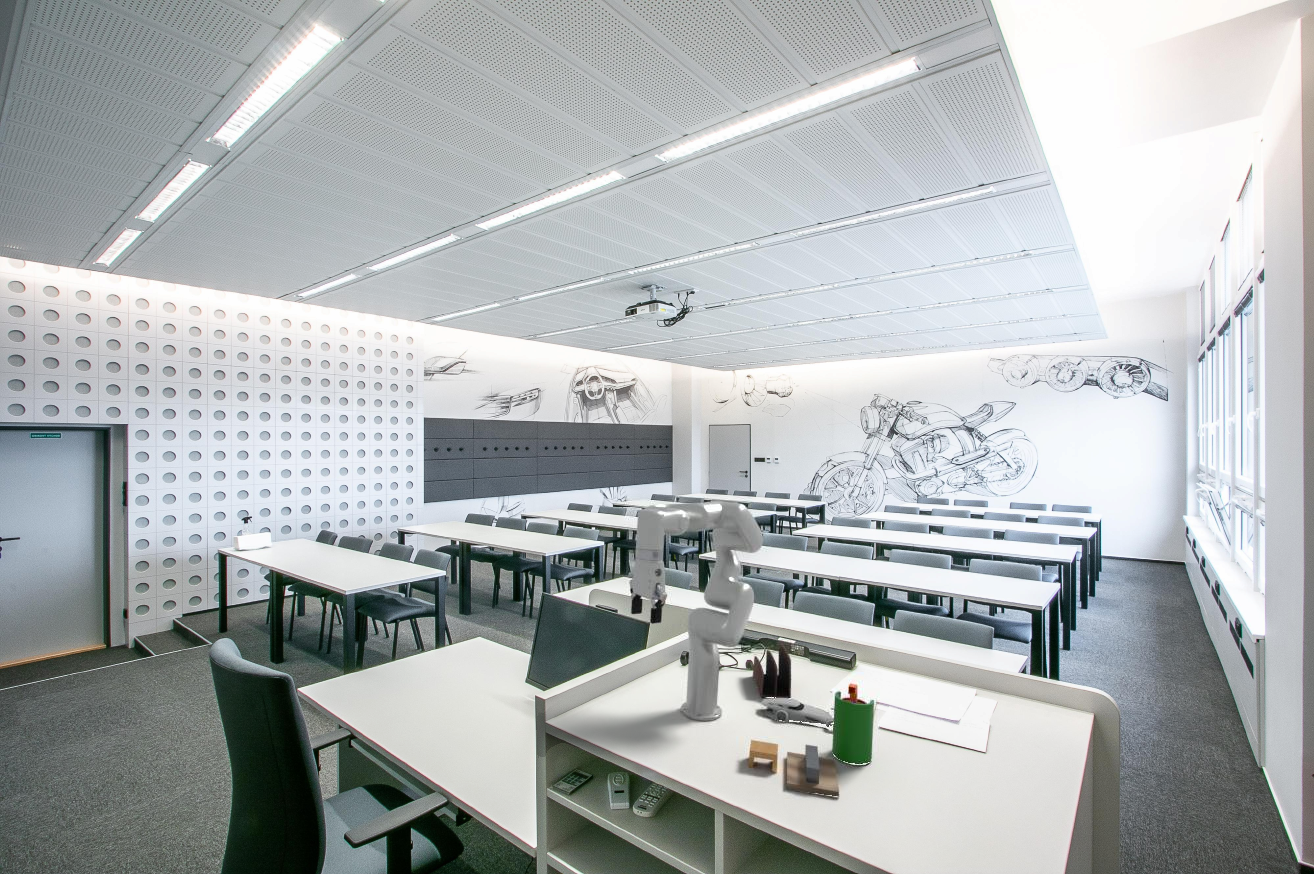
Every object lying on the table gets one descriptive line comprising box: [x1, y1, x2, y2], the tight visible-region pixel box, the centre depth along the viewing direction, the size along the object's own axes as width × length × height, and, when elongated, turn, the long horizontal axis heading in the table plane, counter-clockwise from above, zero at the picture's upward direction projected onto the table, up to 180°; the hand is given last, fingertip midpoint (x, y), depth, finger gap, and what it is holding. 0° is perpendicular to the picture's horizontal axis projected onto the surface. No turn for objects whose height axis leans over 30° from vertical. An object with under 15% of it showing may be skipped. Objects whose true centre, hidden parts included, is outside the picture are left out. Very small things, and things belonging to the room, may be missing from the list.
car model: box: [761, 698, 834, 727], centre depth 184 cm, size 11×24×5 cm, turn 71°
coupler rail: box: [804, 744, 820, 784], centre depth 150 cm, size 12×3×4 cm, turn 167°
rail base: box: [786, 751, 840, 797], centre depth 149 cm, size 16×12×2 cm
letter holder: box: [752, 642, 792, 699], centre depth 208 cm, size 10×20×14 cm, turn 179°
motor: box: [831, 683, 875, 764], centre depth 161 cm, size 10×9×20 cm
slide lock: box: [748, 739, 779, 774], centre depth 154 cm, size 6×7×4 cm
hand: (645, 618), depth 162 cm, fingers open, 9 cm apart
